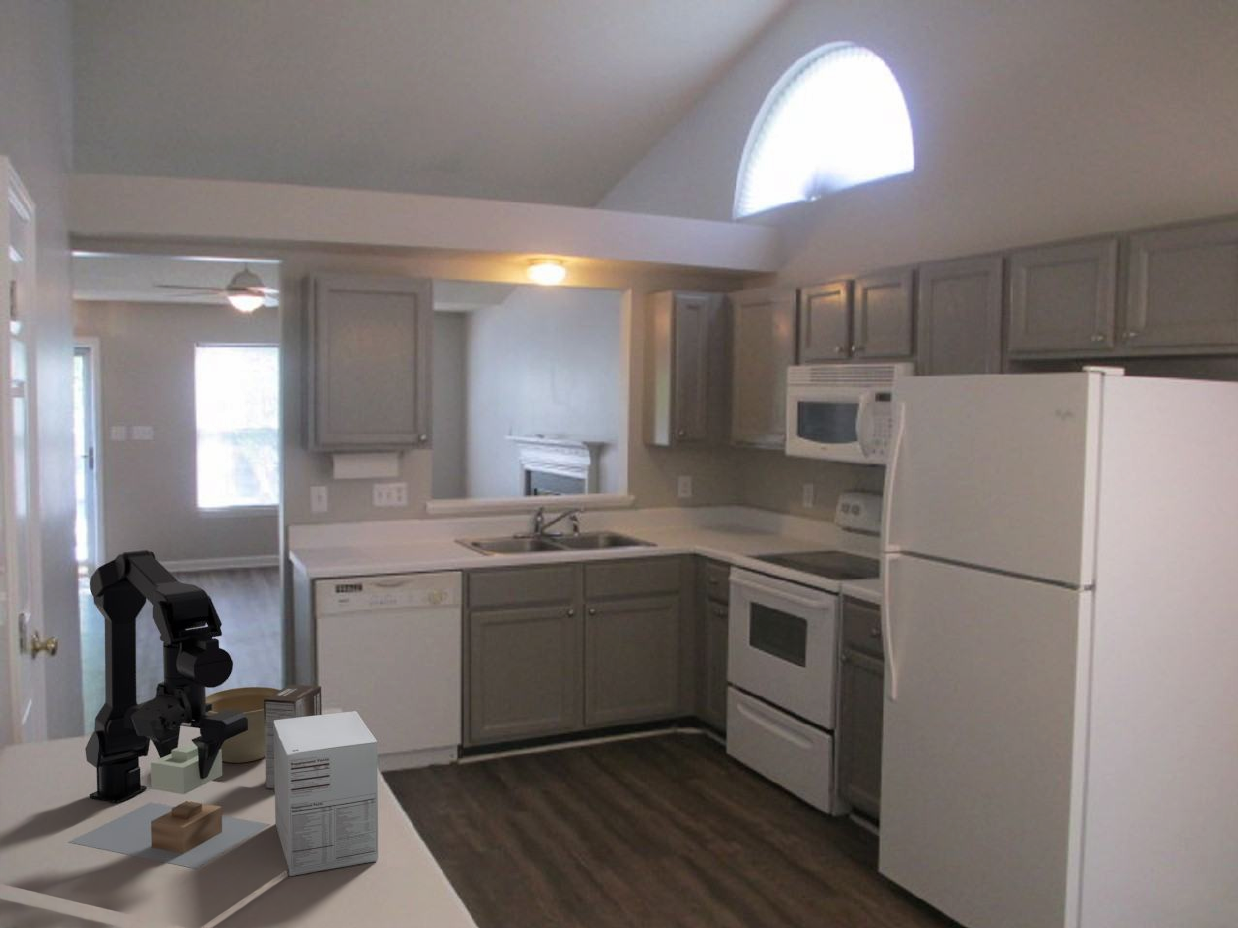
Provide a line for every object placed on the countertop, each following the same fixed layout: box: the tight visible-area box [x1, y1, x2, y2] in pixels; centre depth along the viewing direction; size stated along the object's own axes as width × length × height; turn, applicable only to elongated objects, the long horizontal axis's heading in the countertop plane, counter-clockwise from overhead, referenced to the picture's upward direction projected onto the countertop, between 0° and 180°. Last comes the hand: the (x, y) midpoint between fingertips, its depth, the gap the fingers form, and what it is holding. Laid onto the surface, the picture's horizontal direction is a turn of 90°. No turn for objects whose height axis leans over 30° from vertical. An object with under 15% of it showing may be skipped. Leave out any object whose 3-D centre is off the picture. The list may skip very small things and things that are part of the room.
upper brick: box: [150, 743, 223, 795], centre depth 154 cm, size 8×6×5 cm
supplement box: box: [273, 710, 379, 877], centre depth 155 cm, size 17×13×18 cm
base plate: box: [68, 801, 271, 870], centre depth 157 cm, size 24×16×1 cm, turn 70°
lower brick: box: [151, 800, 223, 854], centre depth 155 cm, size 8×6×5 cm
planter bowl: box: [206, 686, 281, 764], centre depth 194 cm, size 16×16×11 cm
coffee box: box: [264, 684, 323, 790], centre depth 181 cm, size 9×6×16 cm
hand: (186, 775), depth 154 cm, fingers closed on upper brick, 6 cm apart
